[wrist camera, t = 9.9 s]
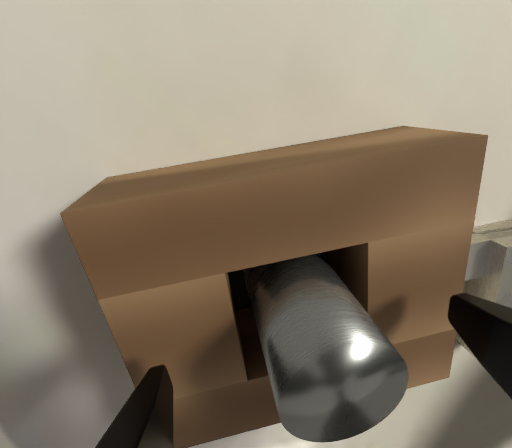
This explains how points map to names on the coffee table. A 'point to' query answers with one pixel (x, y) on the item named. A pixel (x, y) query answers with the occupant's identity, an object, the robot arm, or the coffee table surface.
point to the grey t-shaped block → (490, 265)
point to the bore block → (278, 257)
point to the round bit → (322, 351)
